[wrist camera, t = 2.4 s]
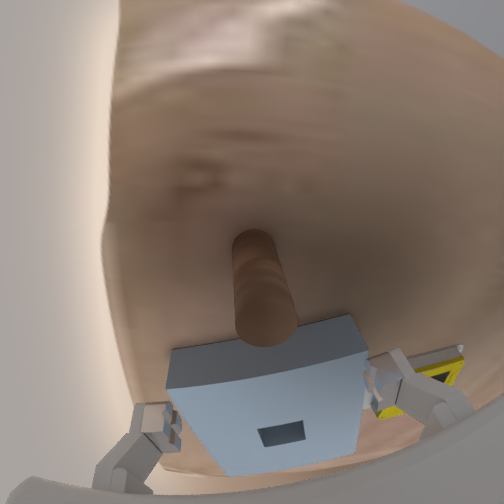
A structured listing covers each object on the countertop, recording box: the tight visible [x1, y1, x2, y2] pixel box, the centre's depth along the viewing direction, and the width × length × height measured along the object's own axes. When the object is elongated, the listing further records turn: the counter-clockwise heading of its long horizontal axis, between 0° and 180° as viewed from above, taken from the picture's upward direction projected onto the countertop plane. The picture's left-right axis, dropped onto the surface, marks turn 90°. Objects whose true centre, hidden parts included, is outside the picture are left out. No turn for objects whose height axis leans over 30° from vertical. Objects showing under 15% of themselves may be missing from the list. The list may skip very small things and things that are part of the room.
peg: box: [232, 230, 298, 347], centre depth 19 cm, size 3×3×9 cm
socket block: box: [165, 314, 369, 477], centre depth 29 cm, size 17×21×5 cm
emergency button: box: [362, 344, 465, 420], centre depth 31 cm, size 9×4×15 cm
